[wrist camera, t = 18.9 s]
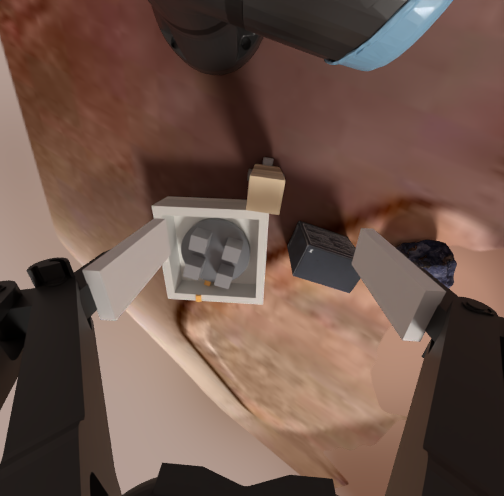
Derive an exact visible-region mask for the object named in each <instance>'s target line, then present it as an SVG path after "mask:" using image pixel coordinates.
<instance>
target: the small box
mask: <svg viewBox="0 0 504 496" xmlns="http://www.w3.org/2000/svg"><path fill="white" fill-rule="evenodd" d="M287 247H288V252H289V257H290V263H291V268H292V274H293V276H296V277H299V278H302V279H305V280H309V281H312V282H315V283H318V284H322V285H325V286H328V287H331V288H334V289H338V290H341V291H344V292H347V293H350V292H351V291H352V290H353V288H354V287H355V285H356V284H357V282H358V281H359V280H360V276H359V275H358V273H357V272H356V270H355V269H354V267H353V266H352V261H353V257H354V253H355V249H356V248H355V247H354V245H353V244H352V243H351V241H350V240H349V238H348V237H346V236H343V235H340V234H337V233H334V232H332V231H329V230H326V229H323V228H320V227H317V226H314V225H311V224H308V223H305V222H302V221H299V222H298V223H297V226H296V228H295V230H294V233H293V235H292V237H291V239H290V241H289V243H288V246H287Z"/></svg>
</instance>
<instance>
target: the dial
mask: <svg viewBox="0 0 504 496" xmlns="http://www.w3.org/2000/svg"><path fill="white" fill-rule="evenodd" d="M181 254H182V258H183V260H184V262H185V269H184V274H183V276H184V277H187V278H191V279H194V280H199V278H201V279H203V280H205V283H204V285H207V286H210V284H211V282H215V283H214V285H215V286H218V287H222V288H225V289H229V287H230V284H231V281H232V280H234V279H236V278H237V277H239V276H240V275H241V274H242V273H243V272H244V271H245V269H246V268H247V266H248V263H249V259H250V244H249V240H248V238H247V236H246V235H245V233H244V232H243V231H242V229H240V228H239V227H238V226H237V225H236V224H234V223H232V222H230V221H228V220H225V219H221V218H207V219H204V220H201V221H199V222H197V223H196V224H194V225H193V226H192V227H191V228H190V229H189V231H188V232H187V233H186V234H185V236H184V238H183V240H182V244H181Z"/></svg>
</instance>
